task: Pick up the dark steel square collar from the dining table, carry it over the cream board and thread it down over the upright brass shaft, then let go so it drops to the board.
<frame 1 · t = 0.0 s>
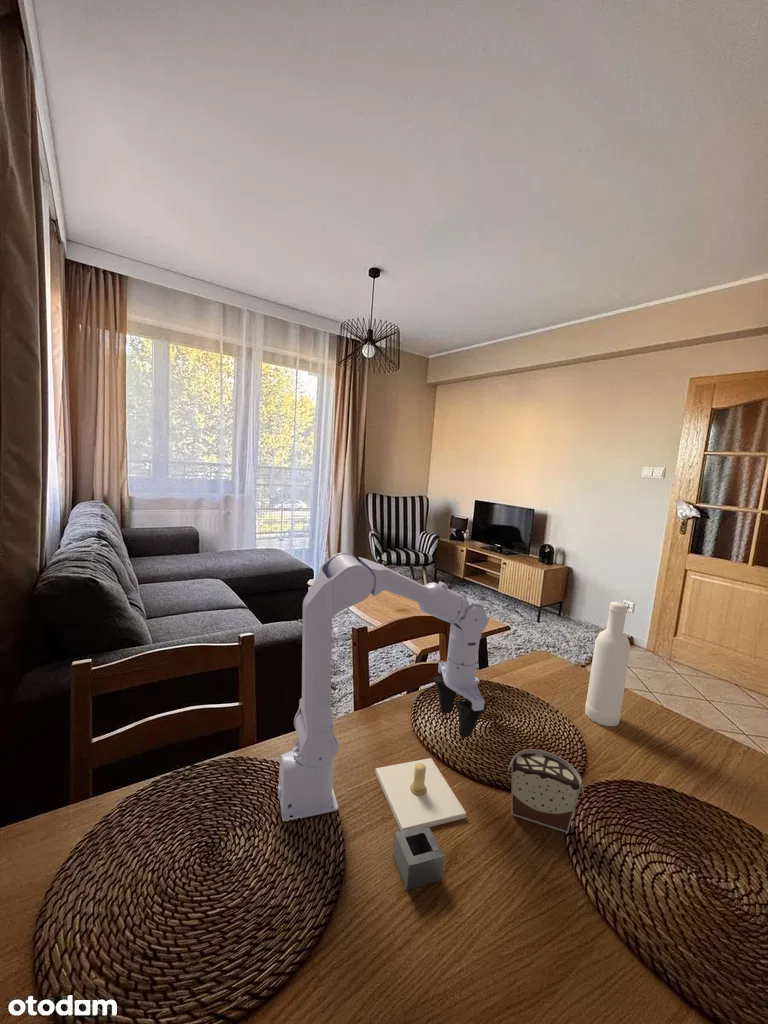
hand: (455, 723, 84), 10 cm above the table, fingers open, 7 cm apart
food container: (538, 811, 77), on the table
collar: (416, 867, 65), on the table
bottle: (601, 718, 108), on the table
shaft board: (417, 794, 79), on the table
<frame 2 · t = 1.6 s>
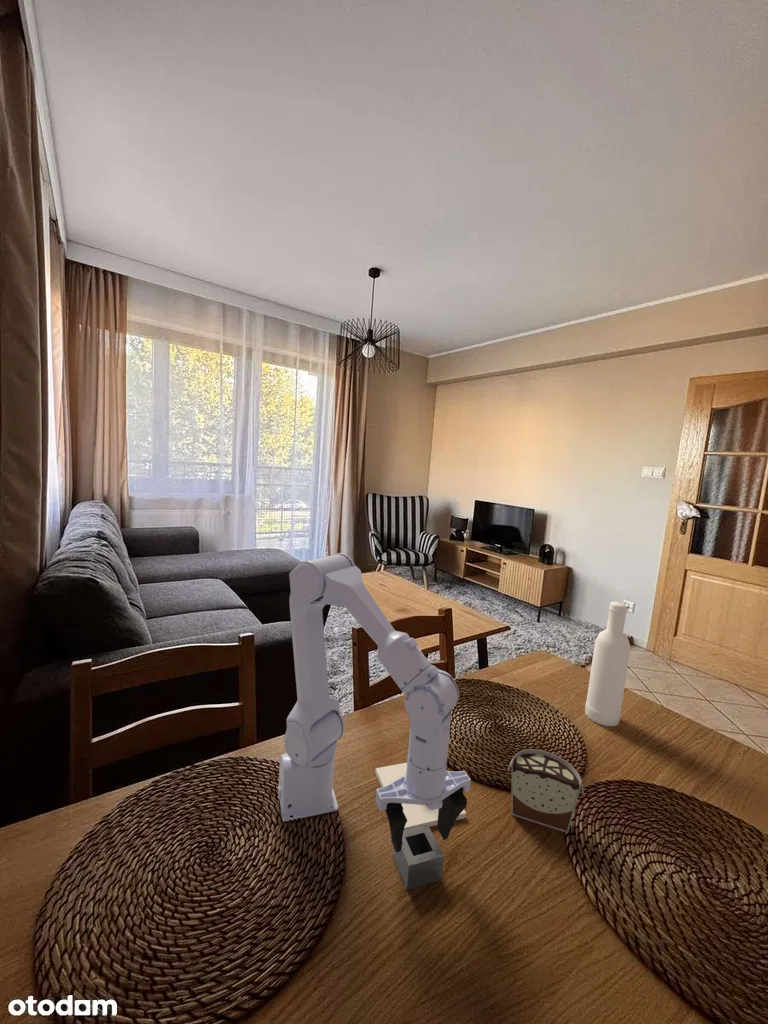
hand: (419, 839, 64), 5 cm above the table, fingers open, 7 cm apart
nothing on the table moved.
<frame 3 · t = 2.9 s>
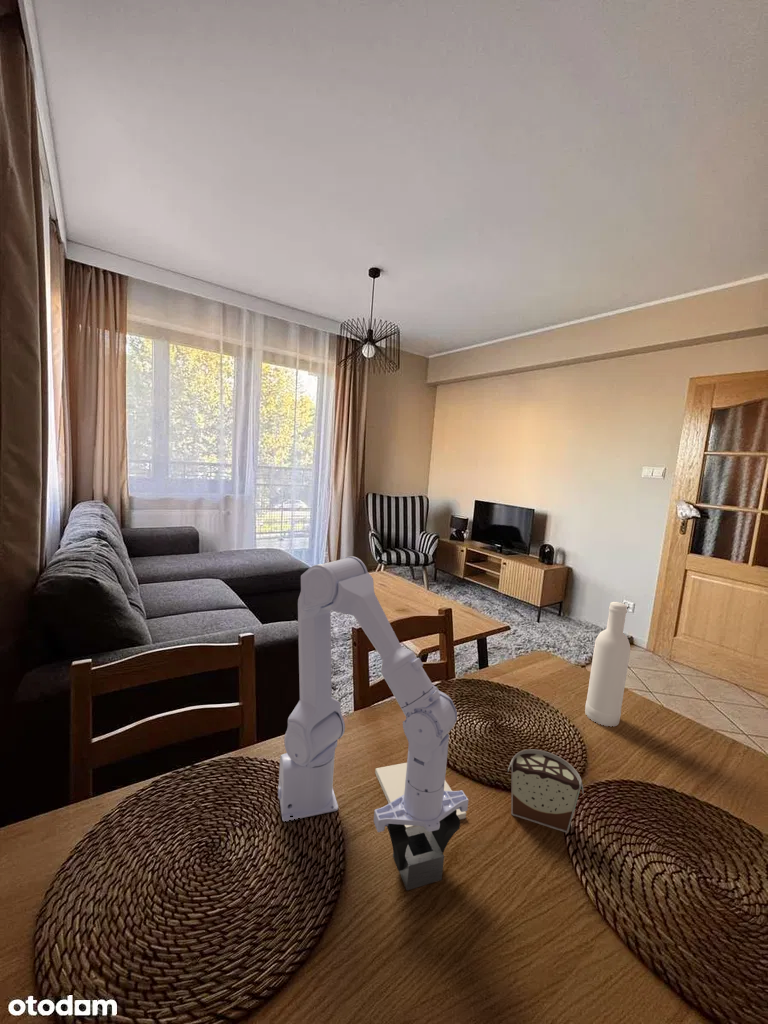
hand: (417, 859, 64), 1 cm above the table, fingers closed on collar, 6 cm apart
collar: (416, 867, 65), on the table, touching gripper
everything else where it was.
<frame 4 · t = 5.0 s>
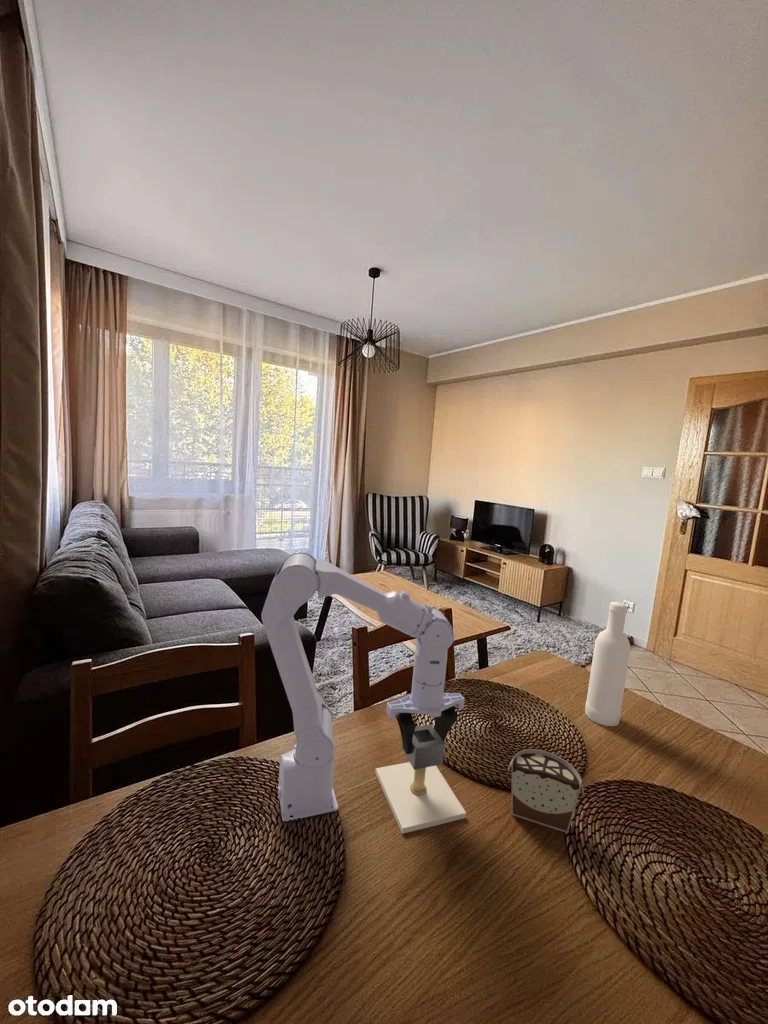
hand: (422, 747, 77), 9 cm above the table, fingers closed on collar, 6 cm apart
collar: (421, 756, 78), point 8 cm above the table, touching gripper
everything else where it was.
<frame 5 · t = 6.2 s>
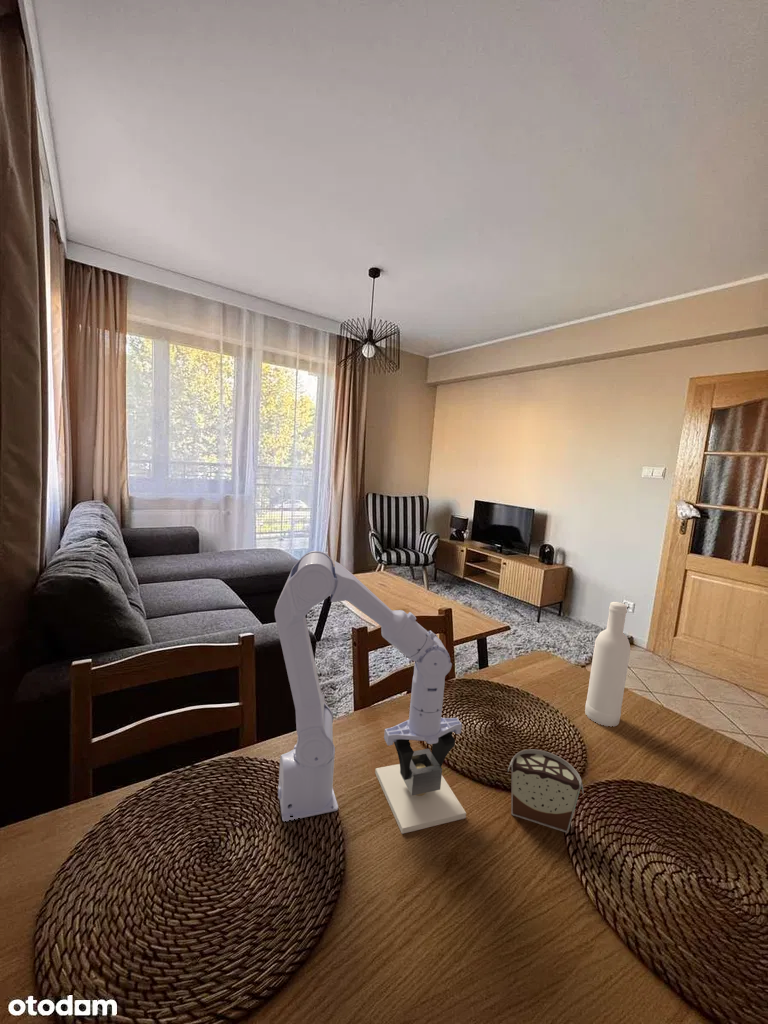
hand: (419, 772, 78), 4 cm above the table, fingers closed on collar, 6 cm apart
collar: (419, 781, 78), point 3 cm above the table, touching gripper
everything else where it was.
when the fingers open (4 cm above the table, at t = 7.1 s): collar drops 2 cm, resting on shaft board.
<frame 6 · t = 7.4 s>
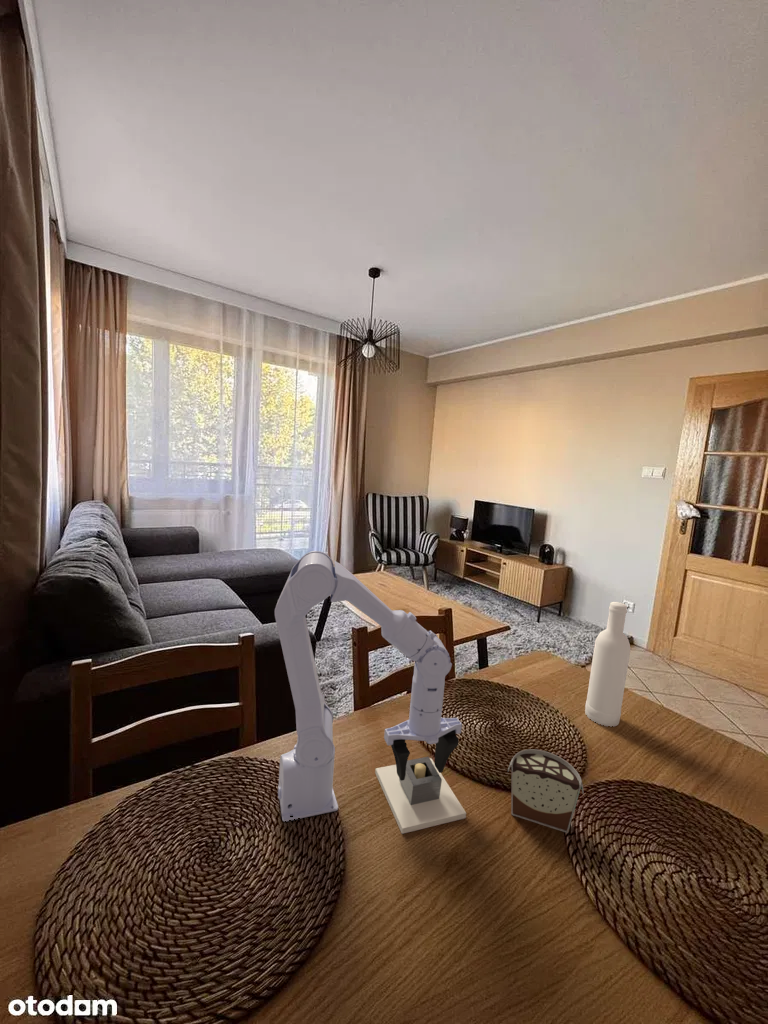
hand: (419, 772, 78), 4 cm above the table, fingers open, 7 cm apart
collar: (418, 789, 78), point 1 cm above the table, touching shaft board
everything else where it was.
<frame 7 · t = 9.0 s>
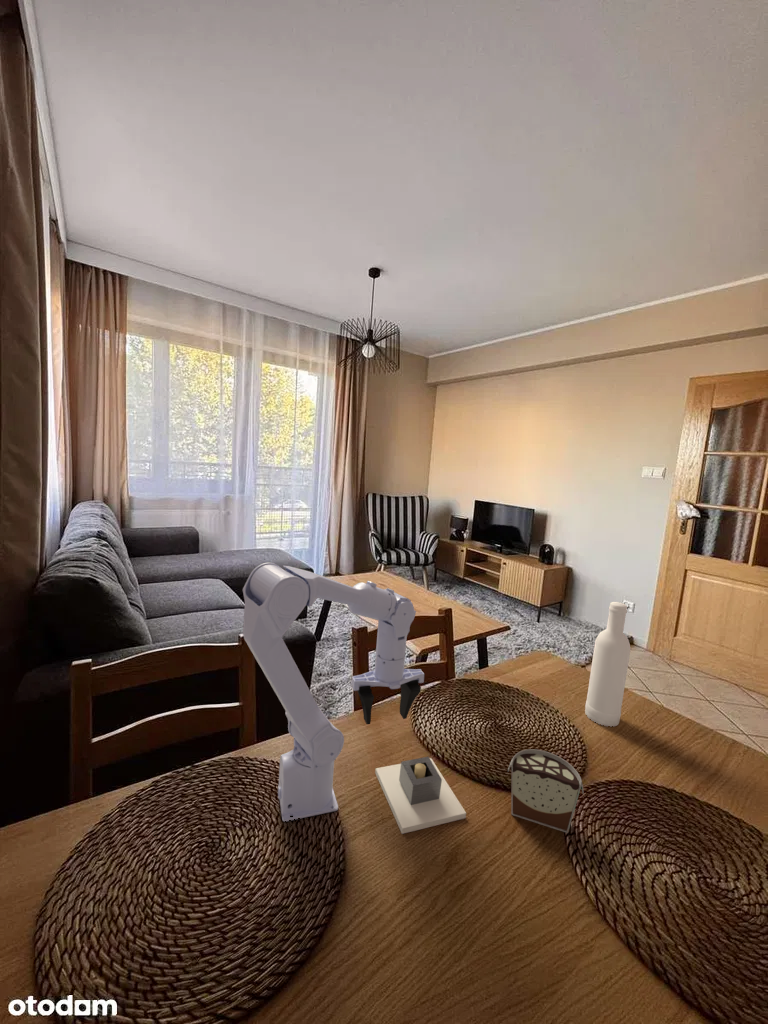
hand: (385, 718, 84), 10 cm above the table, fingers open, 7 cm apart
nothing on the table moved.
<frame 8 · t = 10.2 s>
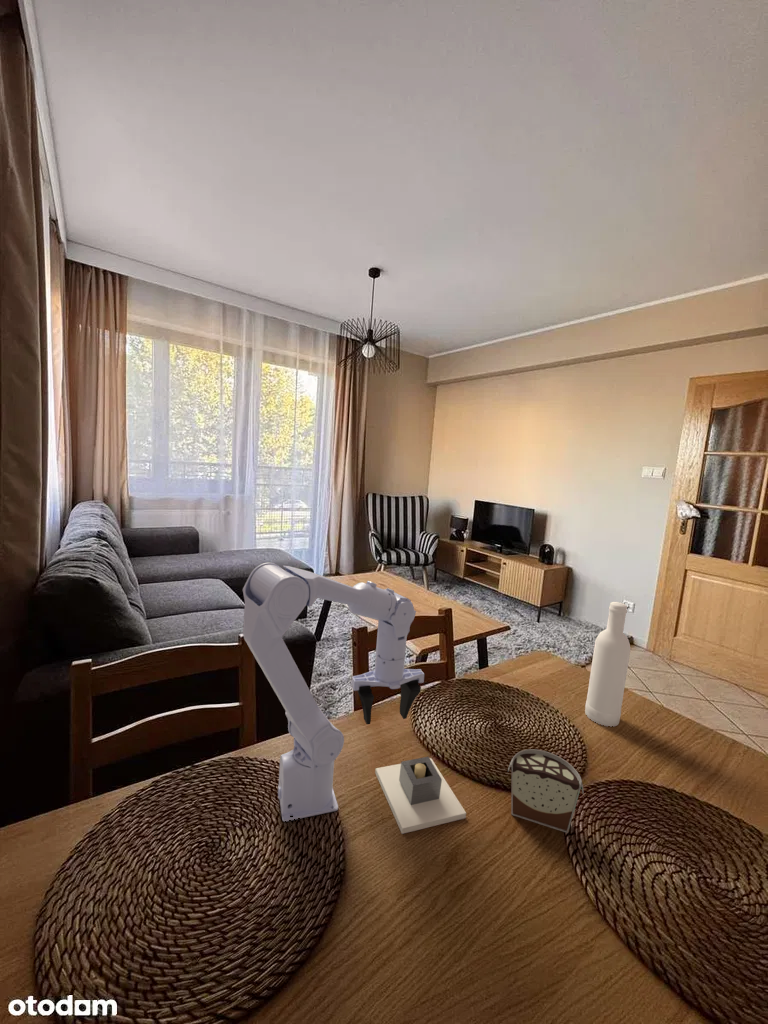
hand: (385, 718, 84), 10 cm above the table, fingers open, 7 cm apart
nothing on the table moved.
at the end: collar 0.2 cm off-centre on the shaft board, point 1.2 cm above the shaft board's base; the gripper is holding nothing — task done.
